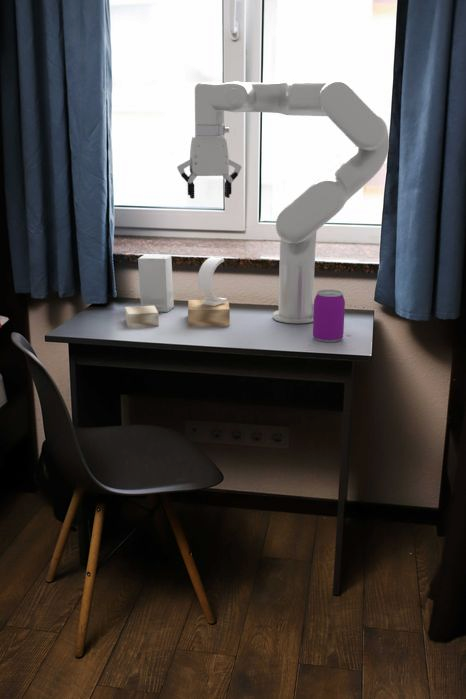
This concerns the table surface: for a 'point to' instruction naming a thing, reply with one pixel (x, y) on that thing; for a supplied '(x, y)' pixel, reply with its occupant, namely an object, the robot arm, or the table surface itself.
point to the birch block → (141, 316)
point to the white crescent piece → (209, 281)
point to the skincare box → (156, 281)
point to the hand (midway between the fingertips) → (209, 197)
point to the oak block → (208, 314)
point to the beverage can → (328, 316)
